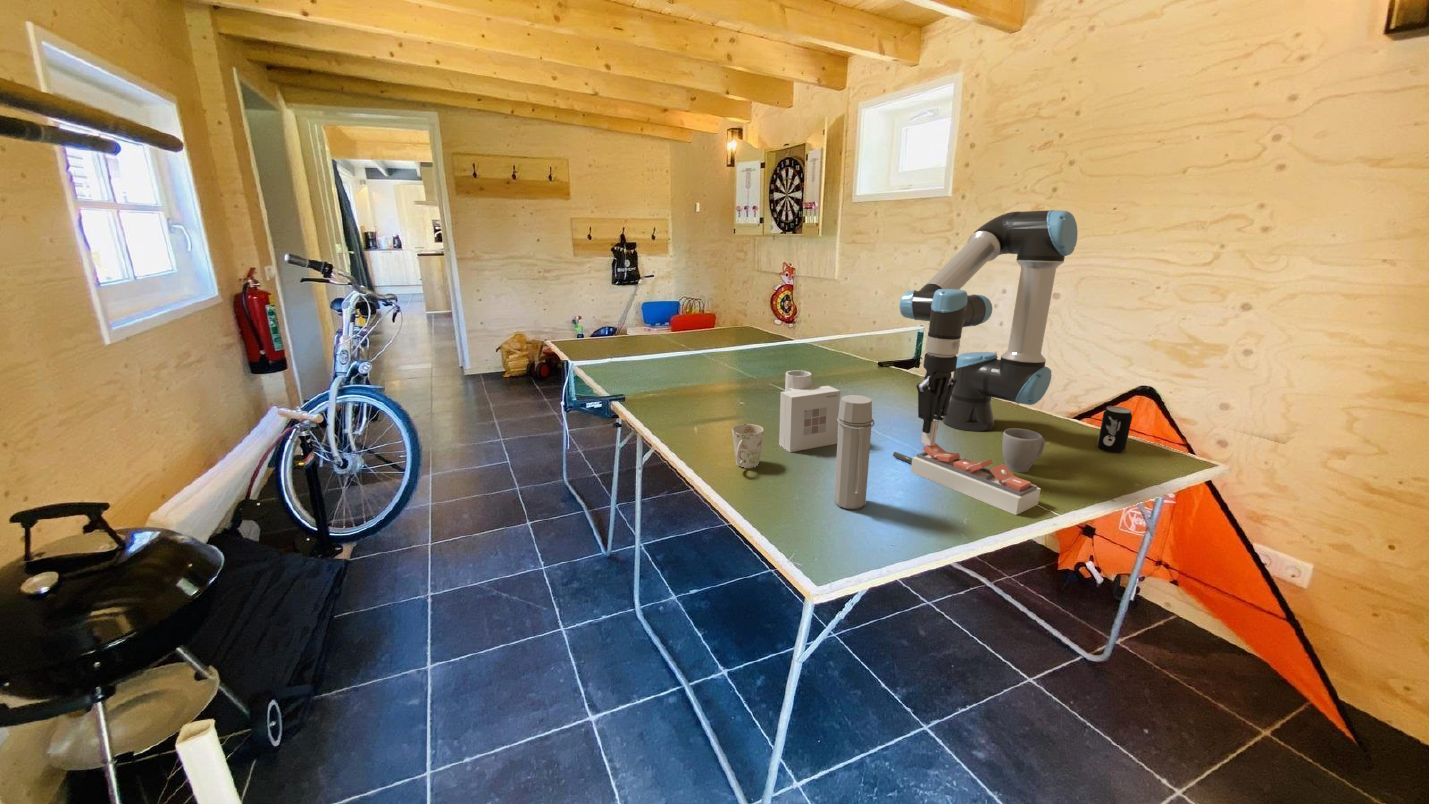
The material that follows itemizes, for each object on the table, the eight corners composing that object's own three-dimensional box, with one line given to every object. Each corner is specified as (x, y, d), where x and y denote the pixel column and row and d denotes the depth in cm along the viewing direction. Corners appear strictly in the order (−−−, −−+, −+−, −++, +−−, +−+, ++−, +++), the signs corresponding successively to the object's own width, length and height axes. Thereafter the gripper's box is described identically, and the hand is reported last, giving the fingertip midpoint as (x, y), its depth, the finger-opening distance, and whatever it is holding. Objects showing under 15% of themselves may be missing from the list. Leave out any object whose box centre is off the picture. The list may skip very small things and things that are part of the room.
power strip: (883, 460, 152) (884, 444, 151) (905, 453, 157) (906, 437, 155) (1015, 515, 123) (1019, 495, 121) (1037, 504, 127) (1041, 485, 126)
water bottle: (828, 497, 132) (833, 394, 124) (860, 495, 132) (868, 393, 125) (839, 516, 123) (846, 407, 116) (874, 514, 123) (883, 406, 116)
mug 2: (1017, 477, 141) (1023, 441, 139) (990, 464, 149) (995, 430, 147) (1054, 470, 145) (1060, 435, 142) (1026, 458, 153) (1031, 425, 150)
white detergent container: (790, 452, 158) (792, 384, 152) (758, 432, 175) (759, 369, 169) (837, 443, 165) (841, 377, 159) (803, 425, 181) (805, 364, 175)
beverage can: (1129, 454, 155) (1138, 413, 152) (1102, 452, 156) (1111, 412, 153) (1117, 446, 161) (1126, 406, 158) (1092, 444, 163) (1100, 405, 159)
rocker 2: (986, 474, 129) (991, 466, 128) (998, 470, 132) (1002, 462, 130) (1016, 496, 124) (1021, 488, 123) (1027, 490, 126) (1032, 483, 125)
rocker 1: (921, 454, 144) (923, 445, 143) (932, 450, 146) (934, 442, 145) (947, 466, 138) (949, 458, 137) (959, 462, 140) (960, 454, 139)
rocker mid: (953, 471, 137) (951, 462, 137) (964, 467, 139) (963, 458, 139) (983, 473, 130) (981, 463, 130) (994, 468, 132) (992, 459, 132)
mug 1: (766, 460, 153) (767, 425, 150) (754, 478, 142) (754, 441, 139) (737, 456, 156) (737, 422, 153) (722, 474, 144) (722, 438, 141)
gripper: (937, 360, 130) (923, 453, 137) (971, 354, 137) (956, 443, 145) (910, 353, 136) (898, 443, 143) (945, 348, 143) (931, 434, 151)
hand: (927, 443), depth 144 cm, fingers closed, pressing on rocker 1
